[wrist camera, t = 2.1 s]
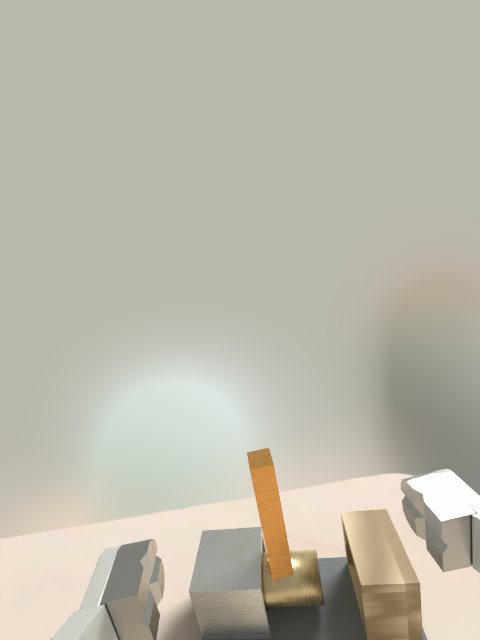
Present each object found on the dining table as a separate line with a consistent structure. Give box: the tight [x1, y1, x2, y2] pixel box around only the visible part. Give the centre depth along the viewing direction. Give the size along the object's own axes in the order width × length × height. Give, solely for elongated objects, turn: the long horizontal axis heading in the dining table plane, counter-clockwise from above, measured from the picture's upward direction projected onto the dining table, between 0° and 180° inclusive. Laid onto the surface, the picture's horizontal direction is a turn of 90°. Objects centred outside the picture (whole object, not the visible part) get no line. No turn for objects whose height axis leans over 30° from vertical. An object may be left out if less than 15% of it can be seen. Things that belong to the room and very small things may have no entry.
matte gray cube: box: [189, 527, 271, 640], centre depth 26 cm, size 6×5×5 cm
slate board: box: [202, 557, 427, 640], centre depth 26 cm, size 18×7×1 cm, turn 85°
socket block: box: [341, 509, 423, 640], centre depth 25 cm, size 4×6×6 cm, turn 175°
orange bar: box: [247, 448, 325, 607], centre depth 25 cm, size 10×4×14 cm, turn 85°
